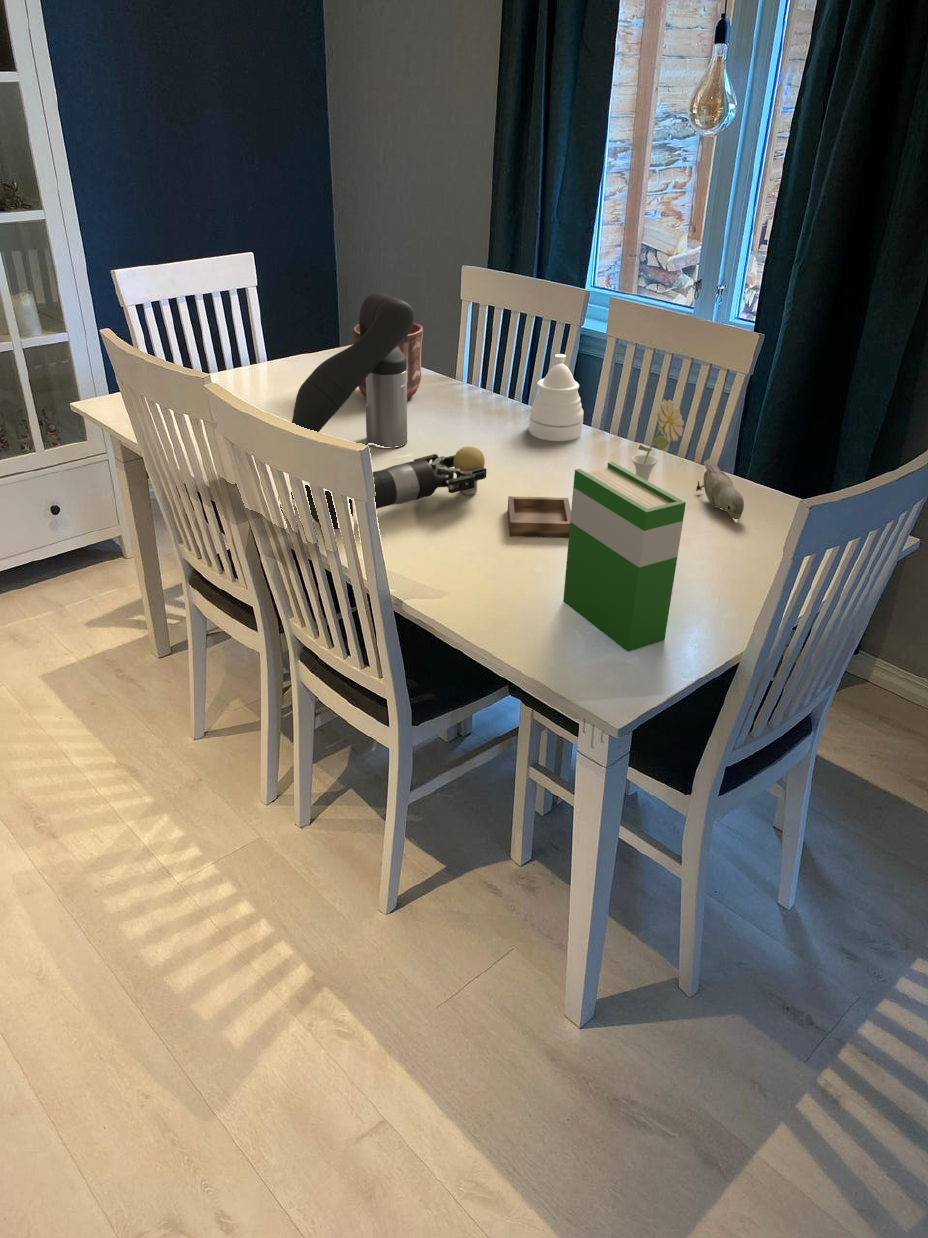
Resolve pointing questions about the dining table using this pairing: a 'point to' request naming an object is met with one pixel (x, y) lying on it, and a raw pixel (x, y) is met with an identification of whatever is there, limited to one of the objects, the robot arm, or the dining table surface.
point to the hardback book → (622, 554)
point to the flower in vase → (660, 437)
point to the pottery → (413, 357)
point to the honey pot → (557, 405)
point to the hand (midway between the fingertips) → (473, 465)
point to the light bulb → (469, 463)
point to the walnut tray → (539, 517)
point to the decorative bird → (721, 490)
